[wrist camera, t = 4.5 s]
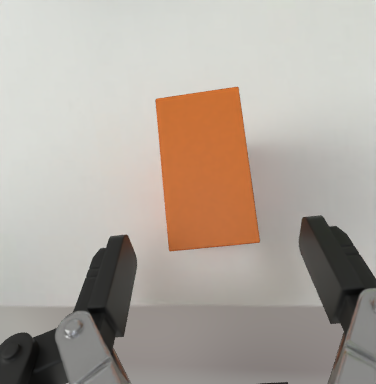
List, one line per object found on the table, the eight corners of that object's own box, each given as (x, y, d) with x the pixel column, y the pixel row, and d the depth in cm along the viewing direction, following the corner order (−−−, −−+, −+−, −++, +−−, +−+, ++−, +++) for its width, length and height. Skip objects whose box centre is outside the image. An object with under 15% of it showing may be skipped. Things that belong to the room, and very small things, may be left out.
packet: (189, 241, 23) (168, 251, 13) (180, 151, 24) (155, 98, 14) (240, 236, 22) (260, 242, 13) (229, 145, 24) (238, 86, 14)
